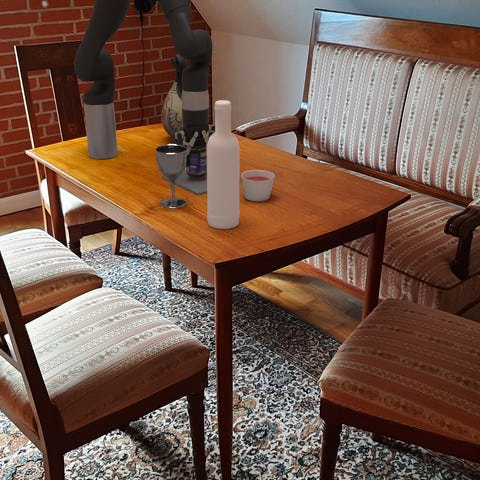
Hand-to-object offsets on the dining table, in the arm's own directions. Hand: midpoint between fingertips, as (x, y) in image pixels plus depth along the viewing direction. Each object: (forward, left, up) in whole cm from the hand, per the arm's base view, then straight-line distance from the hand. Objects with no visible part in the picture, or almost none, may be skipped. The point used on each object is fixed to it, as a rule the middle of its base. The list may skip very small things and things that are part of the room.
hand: (196, 163), depth 179 cm
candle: (+21, +5, -5) cm, 22 cm away
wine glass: (+11, -15, -5) cm, 19 cm away
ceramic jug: (-35, +20, -5) cm, 41 cm away
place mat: (+1, -1, -5) cm, 5 cm away
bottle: (+29, -13, -5) cm, 32 cm away
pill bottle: (0, 0, -3) cm, 3 cm away
